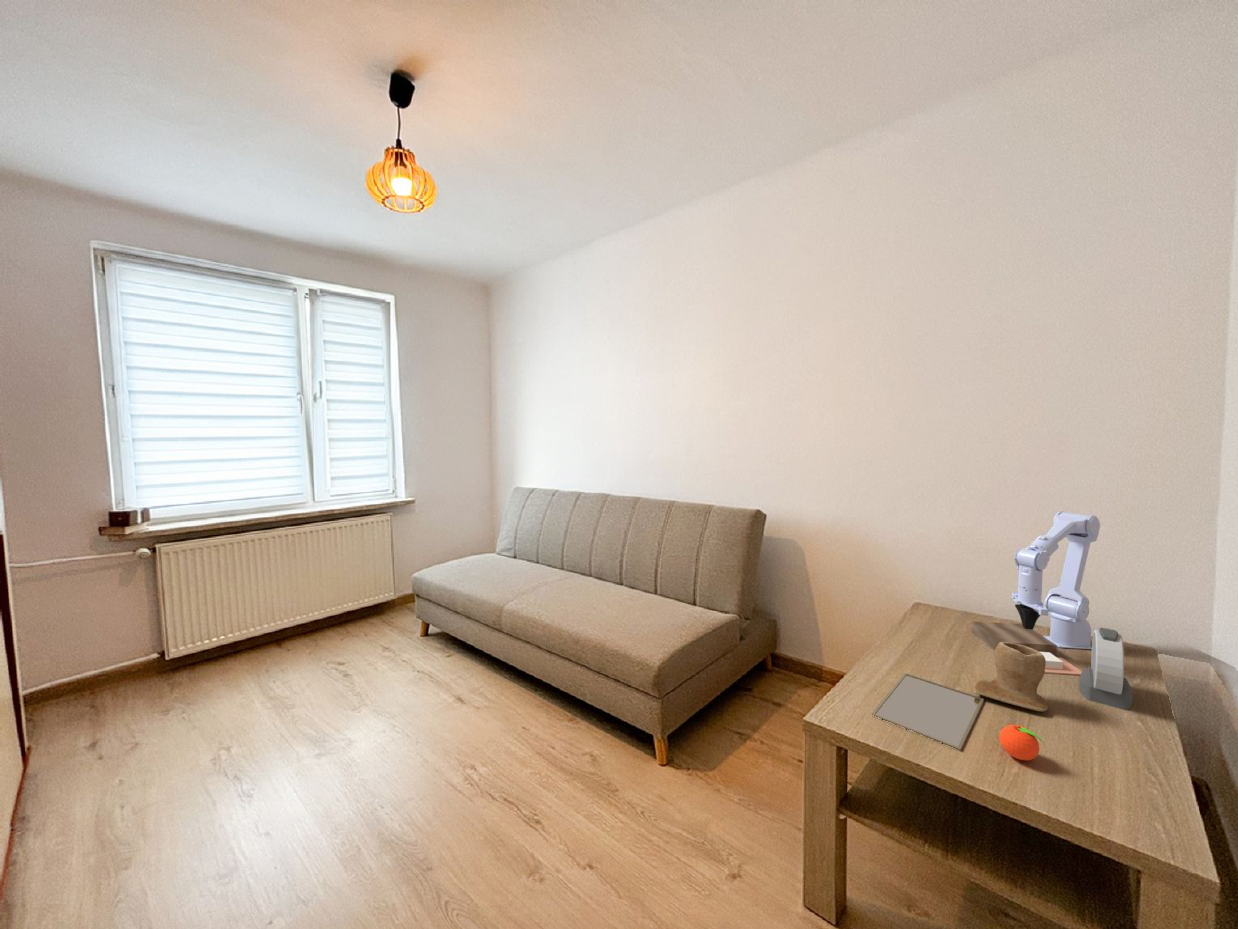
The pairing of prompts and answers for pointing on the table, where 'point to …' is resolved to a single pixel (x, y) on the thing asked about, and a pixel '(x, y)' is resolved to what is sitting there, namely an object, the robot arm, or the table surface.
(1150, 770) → the table surface
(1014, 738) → the clementine
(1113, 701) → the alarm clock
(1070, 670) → the mat
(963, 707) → the picture frame
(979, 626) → the plate
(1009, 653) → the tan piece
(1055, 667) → the tile
